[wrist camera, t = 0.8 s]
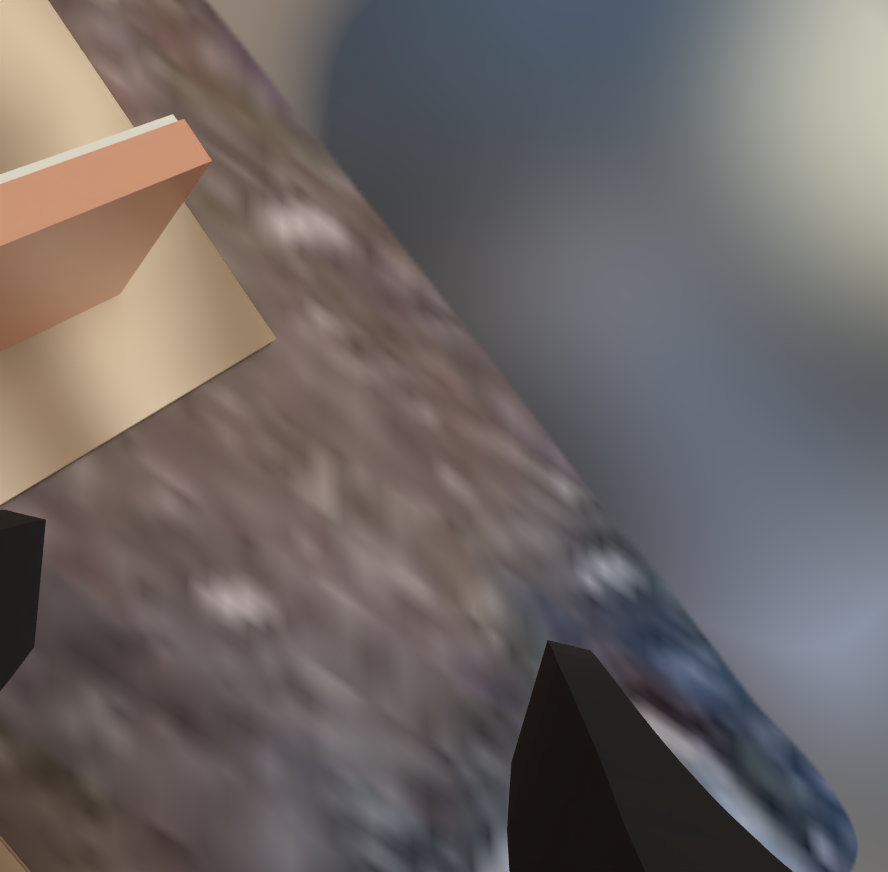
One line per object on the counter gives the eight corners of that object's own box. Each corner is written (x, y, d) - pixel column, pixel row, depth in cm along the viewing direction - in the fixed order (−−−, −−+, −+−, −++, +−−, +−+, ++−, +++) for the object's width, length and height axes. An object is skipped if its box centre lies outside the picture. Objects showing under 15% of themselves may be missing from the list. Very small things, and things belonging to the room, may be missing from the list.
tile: (-130, 414, 19) (-133, 299, 13) (-163, 373, 19) (-183, 234, 13) (120, 294, 23) (211, 160, 17) (95, 258, 23) (178, 110, 17)
